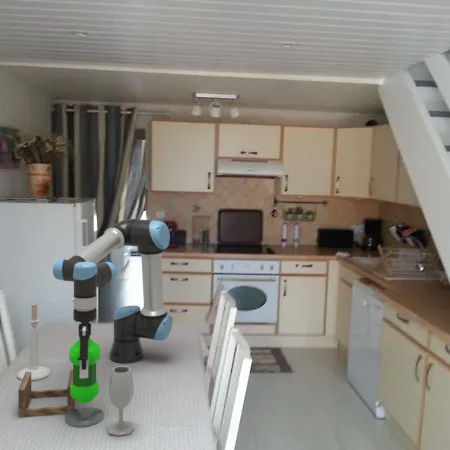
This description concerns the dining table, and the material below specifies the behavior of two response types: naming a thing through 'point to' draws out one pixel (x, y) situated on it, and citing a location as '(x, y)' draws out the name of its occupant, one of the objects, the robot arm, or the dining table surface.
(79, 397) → the plastic bottle
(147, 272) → the robot arm
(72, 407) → the walnut cradle
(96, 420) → the slate coaster
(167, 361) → the dining table surface
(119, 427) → the wineglass
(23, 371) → the candlestick
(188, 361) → the dining table surface
